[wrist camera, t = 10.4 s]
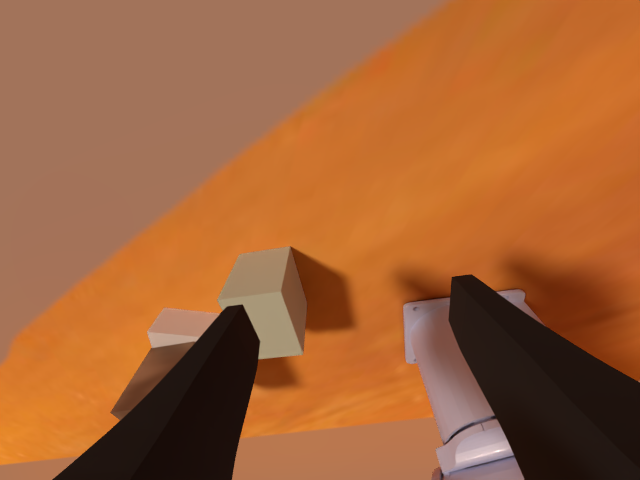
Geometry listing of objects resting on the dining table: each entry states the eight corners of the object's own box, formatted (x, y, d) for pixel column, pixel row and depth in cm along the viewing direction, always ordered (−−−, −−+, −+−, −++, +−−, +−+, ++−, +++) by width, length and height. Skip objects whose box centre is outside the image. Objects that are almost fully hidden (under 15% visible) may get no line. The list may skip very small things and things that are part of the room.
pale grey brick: (233, 311, 24) (222, 339, 22) (236, 364, 28) (227, 393, 26) (166, 304, 24) (147, 331, 21) (179, 358, 28) (164, 387, 25)
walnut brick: (194, 341, 22) (162, 405, 17) (225, 382, 25) (204, 445, 20) (151, 348, 22) (110, 412, 18) (186, 387, 25) (158, 450, 21)
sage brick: (290, 245, 20) (280, 291, 16) (307, 303, 23) (303, 354, 19) (239, 253, 20) (217, 300, 16) (263, 308, 23) (249, 360, 19)
